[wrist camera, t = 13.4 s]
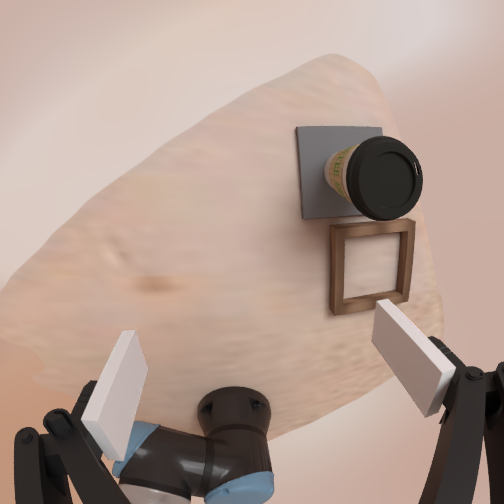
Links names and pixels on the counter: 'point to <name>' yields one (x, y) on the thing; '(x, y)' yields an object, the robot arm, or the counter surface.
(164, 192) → the counter surface
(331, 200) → the trivet mat
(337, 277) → the walnut collar
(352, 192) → the coffee cup
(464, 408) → the robot arm
